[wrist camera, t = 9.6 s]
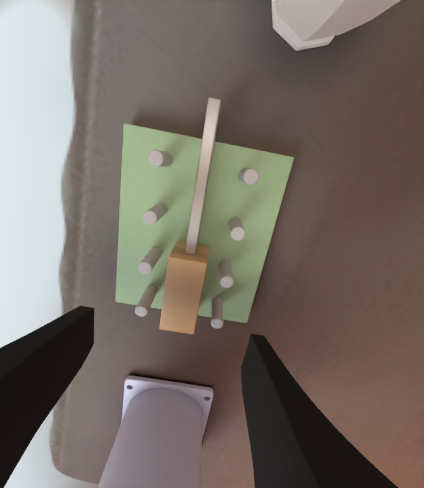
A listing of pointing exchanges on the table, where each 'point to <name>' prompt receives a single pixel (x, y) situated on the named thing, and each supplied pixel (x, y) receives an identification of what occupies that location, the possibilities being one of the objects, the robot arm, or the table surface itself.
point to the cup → (322, 19)
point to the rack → (212, 224)
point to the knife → (190, 245)
